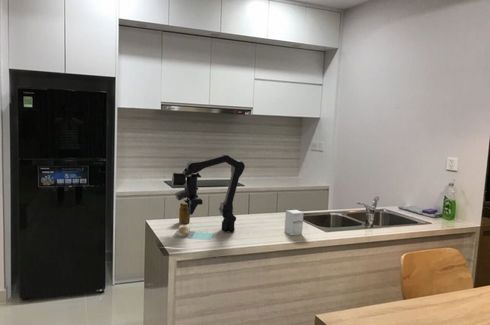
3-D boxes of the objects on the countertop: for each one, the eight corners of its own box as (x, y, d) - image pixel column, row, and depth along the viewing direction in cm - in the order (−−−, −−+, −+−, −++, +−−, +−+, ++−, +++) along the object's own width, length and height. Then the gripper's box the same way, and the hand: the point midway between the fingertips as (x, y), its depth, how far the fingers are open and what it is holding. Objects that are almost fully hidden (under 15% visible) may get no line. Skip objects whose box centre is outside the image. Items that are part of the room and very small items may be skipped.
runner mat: (214, 233, 209) (214, 232, 209) (210, 241, 197) (210, 239, 197) (177, 231, 210) (177, 230, 210) (171, 238, 198) (171, 237, 198)
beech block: (189, 233, 206) (189, 225, 205) (187, 236, 201) (188, 228, 200) (180, 232, 206) (180, 225, 206) (178, 235, 201) (178, 227, 201)
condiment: (186, 221, 230) (187, 201, 229) (194, 225, 224) (194, 204, 222) (175, 223, 226) (176, 202, 224) (183, 226, 219) (183, 205, 218)
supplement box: (291, 236, 213) (292, 213, 211) (283, 232, 219) (285, 210, 218) (302, 234, 216) (304, 212, 215) (294, 230, 223) (296, 209, 221)
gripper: (171, 182, 211) (171, 210, 213) (182, 189, 195) (181, 219, 196) (191, 182, 216) (190, 209, 218) (203, 188, 200) (202, 218, 201)
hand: (190, 214), depth 208 cm, fingers closed
